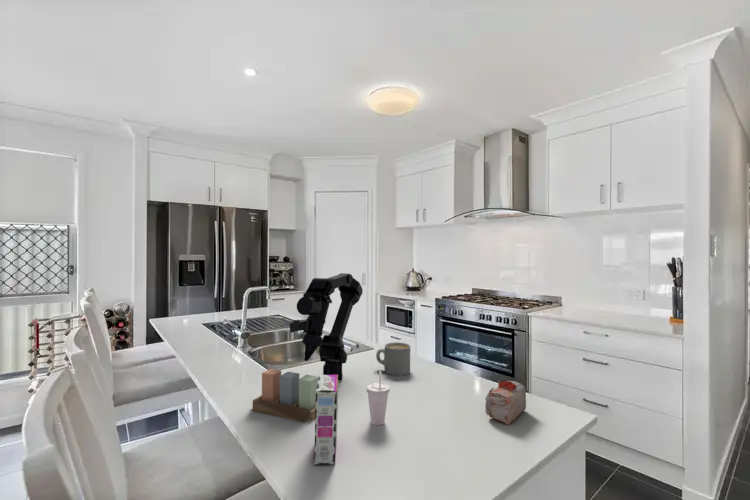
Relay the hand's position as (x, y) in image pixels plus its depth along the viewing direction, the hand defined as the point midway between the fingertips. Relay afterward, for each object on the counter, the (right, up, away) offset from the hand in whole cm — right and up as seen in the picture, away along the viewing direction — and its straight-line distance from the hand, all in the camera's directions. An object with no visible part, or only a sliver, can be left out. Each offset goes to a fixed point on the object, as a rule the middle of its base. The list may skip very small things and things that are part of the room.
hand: (305, 360), depth 121 cm
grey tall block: (-2, -10, -14) cm, 17 cm away
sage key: (+4, -10, -16) cm, 19 cm away
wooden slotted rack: (-2, -10, -14) cm, 18 cm away
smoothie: (+24, -11, -21) cm, 34 cm away
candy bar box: (+12, -10, -36) cm, 39 cm away
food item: (+61, -11, -16) cm, 64 cm away
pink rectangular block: (-8, -10, -11) cm, 17 cm away
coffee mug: (+30, -11, +21) cm, 39 cm away
